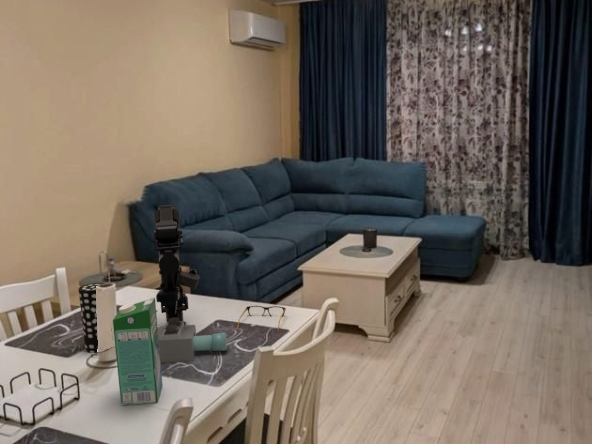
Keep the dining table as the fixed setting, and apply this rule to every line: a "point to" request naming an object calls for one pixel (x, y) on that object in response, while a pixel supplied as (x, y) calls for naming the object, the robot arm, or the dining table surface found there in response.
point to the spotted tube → (89, 316)
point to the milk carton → (138, 353)
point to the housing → (177, 343)
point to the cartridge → (210, 342)
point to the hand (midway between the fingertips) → (173, 314)
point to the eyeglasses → (263, 313)
